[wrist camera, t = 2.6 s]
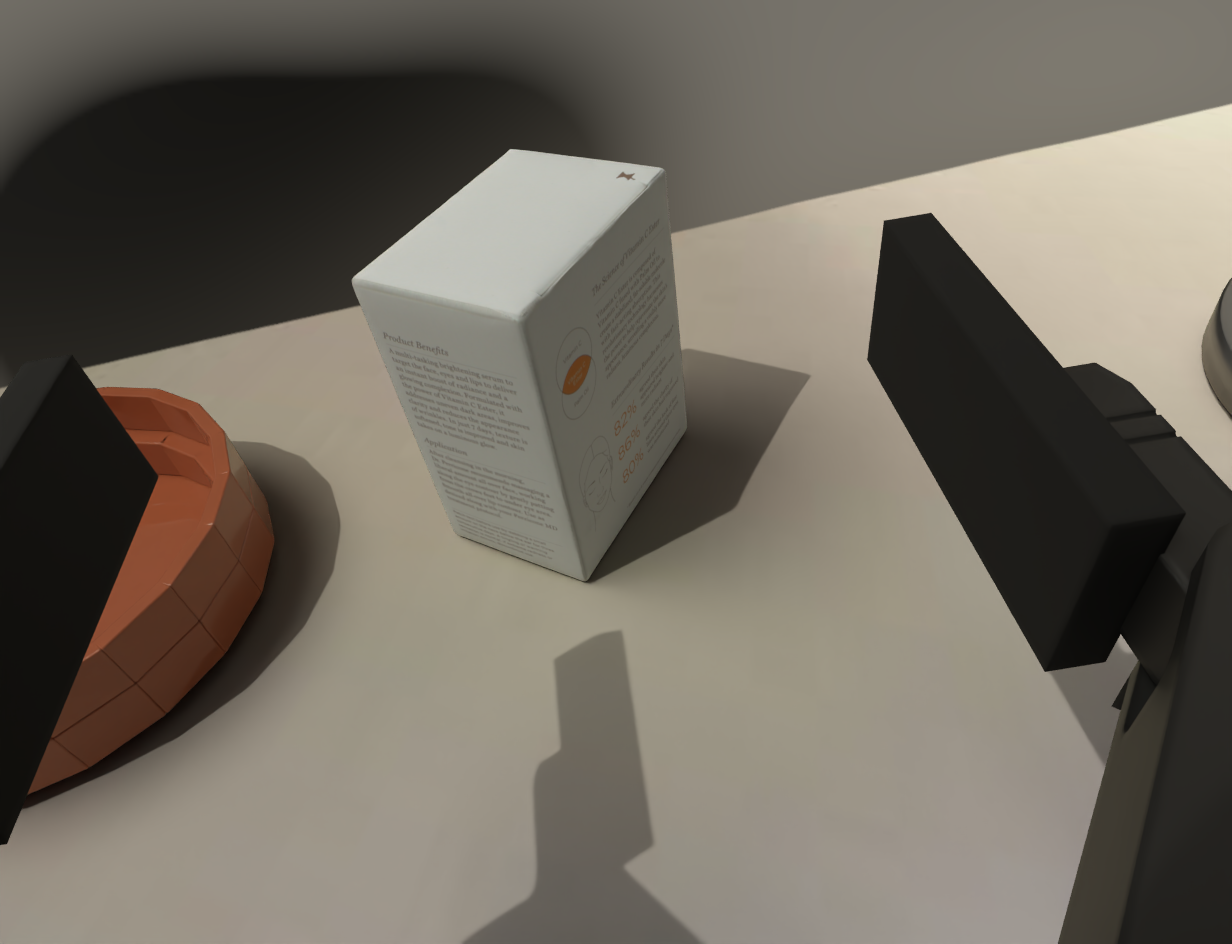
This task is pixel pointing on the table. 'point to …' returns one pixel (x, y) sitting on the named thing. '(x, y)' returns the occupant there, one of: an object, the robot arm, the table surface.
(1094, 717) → the table surface
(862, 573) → the table surface
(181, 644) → the bowl
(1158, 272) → the table surface
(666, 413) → the small box
